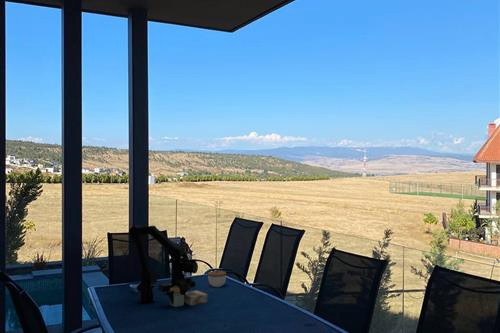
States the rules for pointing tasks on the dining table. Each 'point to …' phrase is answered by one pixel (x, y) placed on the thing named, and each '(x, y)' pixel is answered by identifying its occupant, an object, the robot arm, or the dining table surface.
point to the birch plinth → (195, 297)
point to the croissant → (175, 290)
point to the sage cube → (177, 300)
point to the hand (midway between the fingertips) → (177, 302)
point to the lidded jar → (217, 278)
